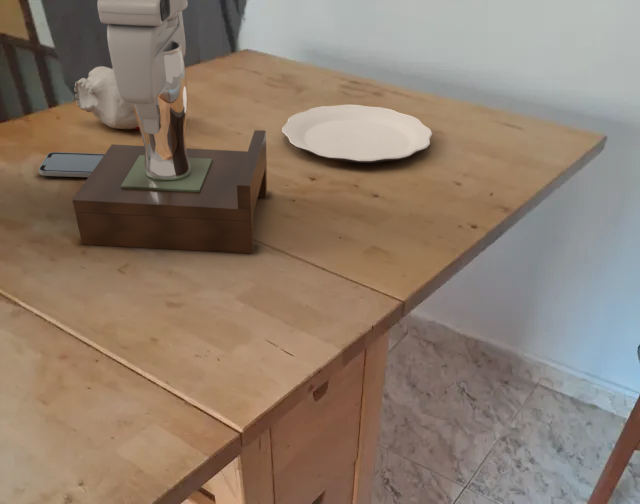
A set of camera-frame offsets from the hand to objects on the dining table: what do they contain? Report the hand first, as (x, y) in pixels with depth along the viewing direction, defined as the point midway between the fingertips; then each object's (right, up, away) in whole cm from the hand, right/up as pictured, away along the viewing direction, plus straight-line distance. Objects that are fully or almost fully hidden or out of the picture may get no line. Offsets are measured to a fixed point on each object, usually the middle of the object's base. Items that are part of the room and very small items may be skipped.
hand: (161, 117), depth 86 cm
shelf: (+1, -10, +9) cm, 13 cm away
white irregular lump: (-13, +14, +33) cm, 38 cm away
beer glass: (0, -5, +5) cm, 7 cm away
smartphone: (-15, +1, +19) cm, 24 cm away
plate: (+26, +10, +31) cm, 42 cm away
